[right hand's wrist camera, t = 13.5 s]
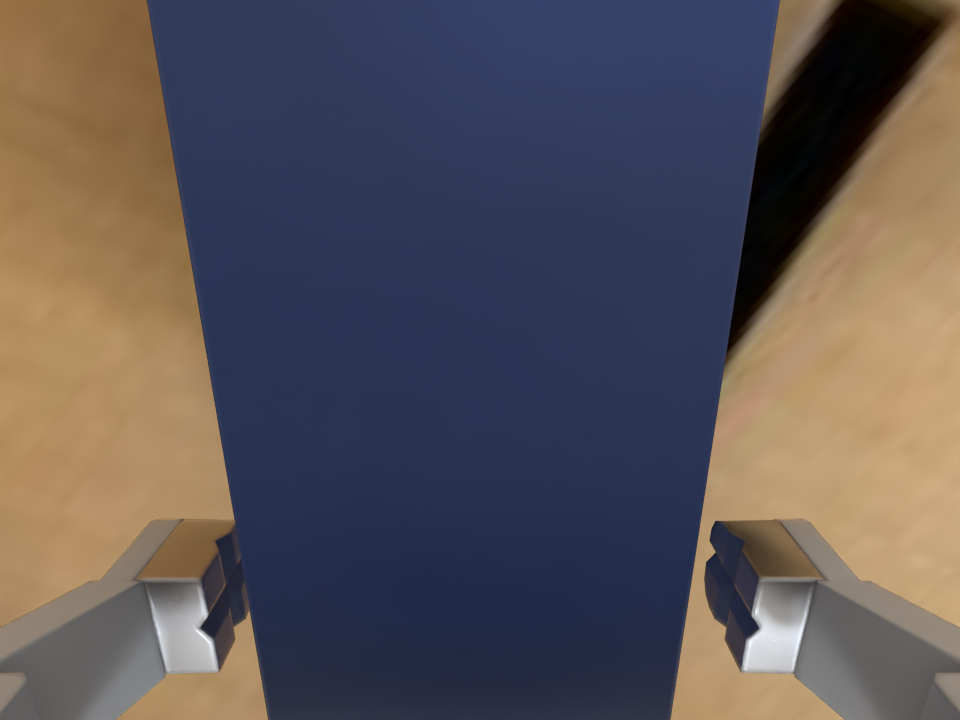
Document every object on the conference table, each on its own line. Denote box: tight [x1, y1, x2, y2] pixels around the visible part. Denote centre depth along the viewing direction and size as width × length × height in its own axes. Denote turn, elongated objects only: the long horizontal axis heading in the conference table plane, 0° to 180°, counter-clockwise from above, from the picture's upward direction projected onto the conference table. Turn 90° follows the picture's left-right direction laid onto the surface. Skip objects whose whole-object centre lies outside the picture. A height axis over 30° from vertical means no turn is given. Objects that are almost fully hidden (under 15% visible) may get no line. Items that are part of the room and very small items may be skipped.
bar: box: [147, 0, 780, 720], centre depth 9 cm, size 24×5×9 cm, turn 0°
